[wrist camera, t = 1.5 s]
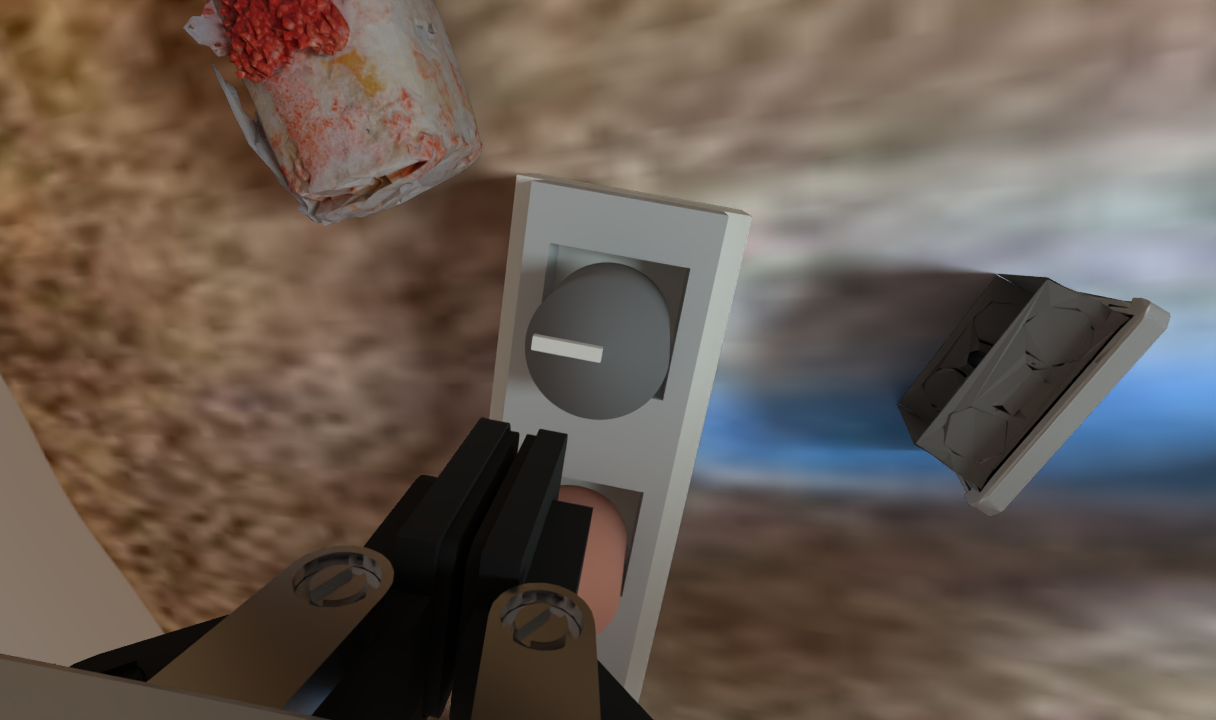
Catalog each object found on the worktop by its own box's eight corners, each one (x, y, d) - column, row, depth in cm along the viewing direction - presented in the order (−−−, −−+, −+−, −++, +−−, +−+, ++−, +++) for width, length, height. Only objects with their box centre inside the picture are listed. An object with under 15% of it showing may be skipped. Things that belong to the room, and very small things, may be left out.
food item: (513, 169, 30) (441, 170, 21) (371, 222, 31) (242, 246, 22) (399, -145, 26) (249, -316, 17) (245, -69, 28) (29, -188, 19)
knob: (681, 274, 24) (683, 296, 20) (657, 392, 26) (654, 435, 21) (555, 252, 24) (532, 269, 20) (539, 370, 26) (514, 408, 22)
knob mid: (636, 497, 27) (629, 555, 23) (617, 590, 29) (607, 660, 25) (525, 475, 27) (499, 528, 23) (512, 568, 29) (485, 634, 25)
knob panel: (741, 210, 29) (760, 221, 23) (631, 694, 39) (623, 794, 32) (536, 173, 30) (501, 175, 24) (476, 661, 39) (439, 753, 33)
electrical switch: (947, 451, 32) (1032, 547, 23) (860, 400, 32) (911, 476, 23) (1074, 296, 29) (1227, 338, 20) (978, 241, 29) (1088, 258, 20)
